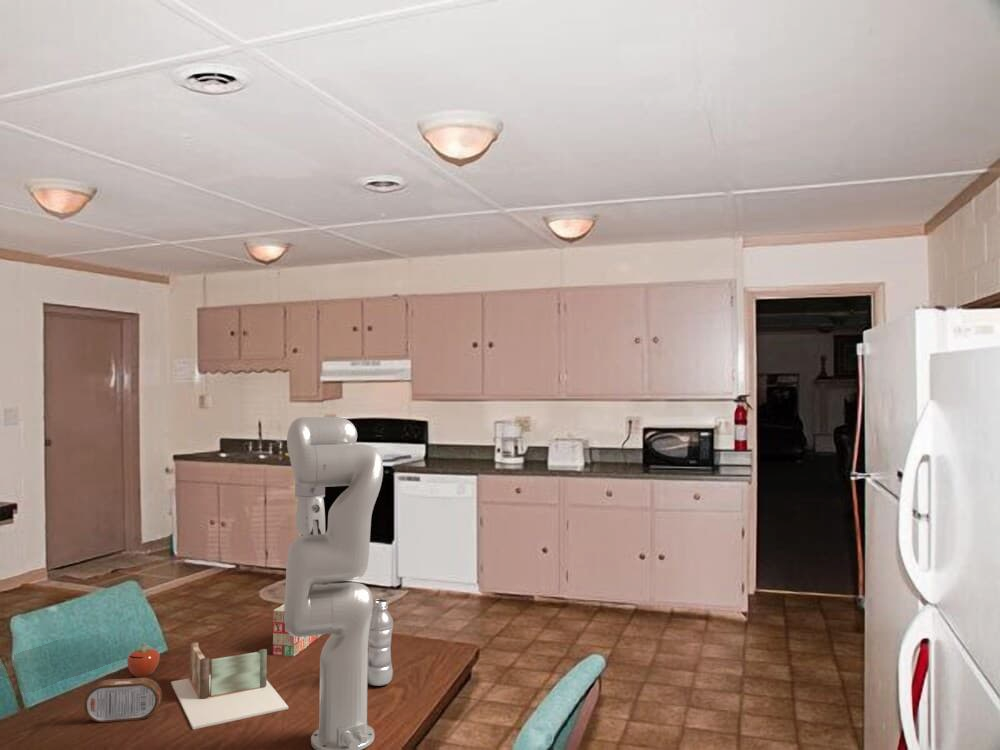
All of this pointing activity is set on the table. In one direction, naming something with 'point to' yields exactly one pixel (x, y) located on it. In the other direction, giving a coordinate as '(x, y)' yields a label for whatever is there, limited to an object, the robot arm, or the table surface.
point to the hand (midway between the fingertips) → (308, 562)
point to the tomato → (143, 660)
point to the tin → (122, 699)
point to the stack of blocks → (287, 637)
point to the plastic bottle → (380, 645)
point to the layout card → (225, 703)
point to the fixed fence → (199, 670)
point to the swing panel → (238, 672)
